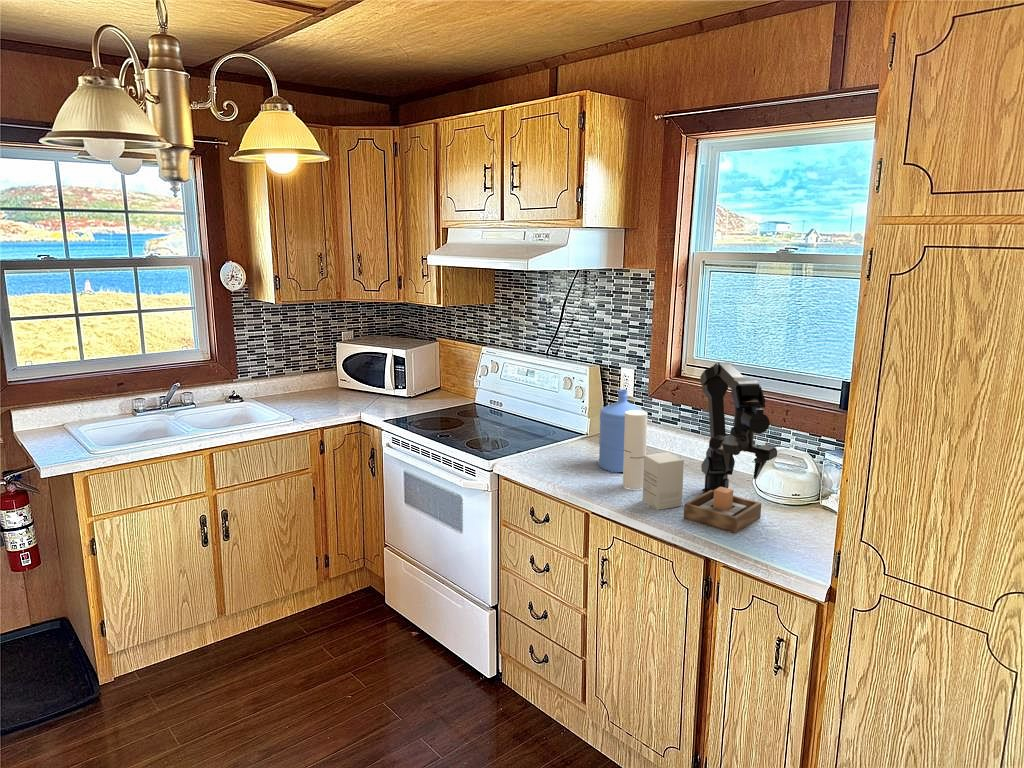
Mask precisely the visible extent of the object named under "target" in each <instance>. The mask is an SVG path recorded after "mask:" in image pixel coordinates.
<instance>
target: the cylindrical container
mask: <svg viewBox="0 0 1024 768" xmlns="http://www.w3.org/2000/svg"><path fill="white" fill-rule="evenodd" d="M647 431H648V411H645V410H643V411H641V410H629V411H626V412H625V430H624V462H623V473H622V487H623V486H624V487H626V488H630V489H640V488H643V471H644V455H647V434H648V432H647ZM624 487H623V488H624ZM626 488H625V489H626ZM630 489H629V490H630Z"/></svg>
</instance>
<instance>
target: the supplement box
mask: <svg viewBox="0 0 1024 768" xmlns="http://www.w3.org/2000/svg"><path fill="white" fill-rule="evenodd" d="M684 463H685V461H684V459H683V458H681V457H679V456H677V455H675V454H673V453H671V452H668V451H666V452H660V453H659V452H658V453H651V454H646V455H644V471H643V489H642V501H643V502H644V501H645V502H644V503H646V502H647V503H648V504H647V503H646V504H647V505H649V506H650V505H651V507H652V508H654V509H655V510H657V511H660V509H661V510H665V509H666V510H667V509H670V508H677V507H678V506H679V507H682V506H683V493H684V492H683V491H684V490H683V489H684V488H683V485H684V465H685V464H684Z"/></svg>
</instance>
